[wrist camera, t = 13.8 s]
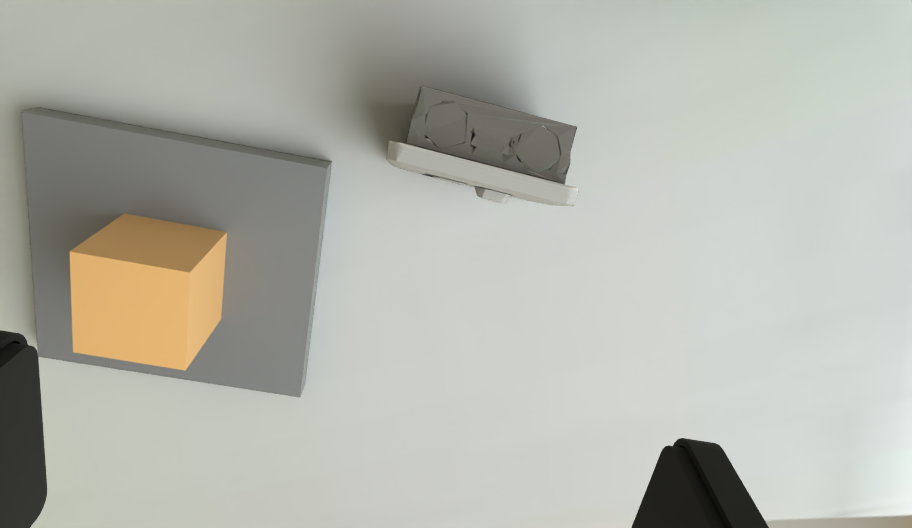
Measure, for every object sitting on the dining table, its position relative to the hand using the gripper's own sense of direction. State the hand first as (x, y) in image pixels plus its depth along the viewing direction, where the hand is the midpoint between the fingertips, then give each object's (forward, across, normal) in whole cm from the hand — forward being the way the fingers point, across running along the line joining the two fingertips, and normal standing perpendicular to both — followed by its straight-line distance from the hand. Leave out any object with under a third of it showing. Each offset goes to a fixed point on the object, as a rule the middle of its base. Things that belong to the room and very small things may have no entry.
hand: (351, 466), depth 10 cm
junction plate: (+30, +14, +12) cm, 35 cm away
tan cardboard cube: (+29, +14, +12) cm, 34 cm away
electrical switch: (+31, -3, +1) cm, 31 cm away
